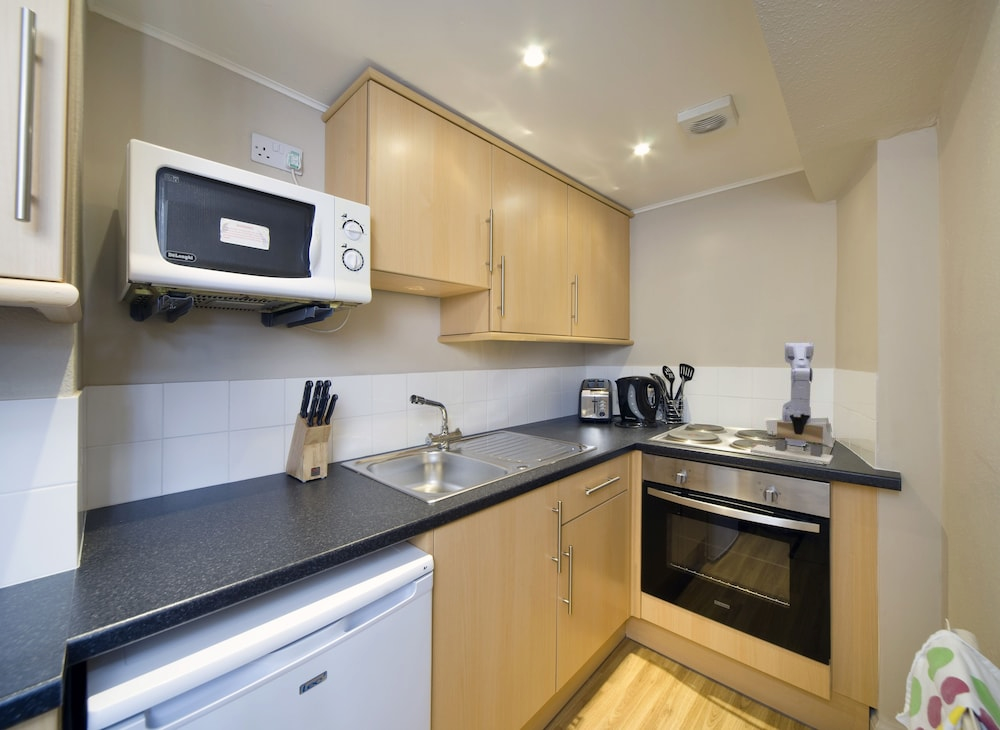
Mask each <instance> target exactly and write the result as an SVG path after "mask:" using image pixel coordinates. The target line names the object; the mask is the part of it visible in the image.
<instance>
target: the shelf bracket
mask: <svg viewBox="0 0 1000 730" xmlns="http://www.w3.org/2000/svg"><path fill="white" fill-rule="evenodd" d="M778 421H779V422H783V420H782V419H769V420H768V419H767V420H766V421H765V425H766V433H767V434H769V435H772V434H773V435H777V422H778ZM807 425H816V426H823V444H825V445H826V446H827V447H829V448H834V441H833V437H832V433H833V430H832V424H831V422H829V417H811V422H810V423H809V424H807Z"/></svg>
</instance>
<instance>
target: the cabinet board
mask: <svg viewBox="0 0 1000 730" xmlns="http://www.w3.org/2000/svg"><path fill="white" fill-rule="evenodd" d="M769 446H770V445H766V446H765V444H757V445H754V446H753V447H752V448H751V449H750V453H756V454H760V455H761V454H762V455H765V456H766V455H768V456H774V457H780V458H786V459H793V460H797V459H798V461H803V460H808V461H807V462H810V461H818V462H822V463H824V465H830V464H831V462H832V460H833V458H834V455H833V454H825V453H823V451H824V450H823V449H824V447H823V445H822V444H814V443H812V445H811V446H810V451H806V450H805V451H804V450H799V449H792V448H788V444H787V440H785V439H781V438H779V439H777V440H776V441H775V446H773V447H769ZM822 463H821V464H822Z"/></svg>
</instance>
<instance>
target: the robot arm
mask: <svg viewBox="0 0 1000 730" xmlns="http://www.w3.org/2000/svg"><path fill="white" fill-rule="evenodd" d="M814 348H815V346H814V343H813V342H812V341H811V342H786V343H785V345H784V361H785V362H786V363H788V364H789V365H790V367H791V370H790V384H791V385H790V400H789V401H787V402H784V404H783V405H782V412H781V413H782V414H781V416H782V417H781V420H783V422H788V423H793V427H794V432H795V434H799V435H802V433H803V429H804V425H805V424H806V425H807V424H809V423H810V422H811V418H812V411H811V410H812V409H811V406H810V404H811V384H812V382H813V379H814V378H813V377H814V376H813V374H814V373H813V367H812V366H811V362H812V360H813V357H814V352H815V351H814V350H815V349H814ZM784 440H787V446H790V445H791V446H794V447H795V446H797V447H802V448H803V446H804V444H805V443H806V442H807V441H802V440H794V439H786V438H785V439H784Z"/></svg>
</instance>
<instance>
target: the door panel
mask: <svg viewBox="0 0 1000 730" xmlns="http://www.w3.org/2000/svg"><path fill="white" fill-rule="evenodd" d="M776 438H779V439H784V438H786V439H794V440H802V441H806V442H808V443H809V442H810V443H817V444H822V443H824V440H823V426H816V425H806V424H805V425H804V429H803V433H802V435H799V434H795V432H794V427H793V423H788V422H779V421H778V422H777V434H776Z"/></svg>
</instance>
